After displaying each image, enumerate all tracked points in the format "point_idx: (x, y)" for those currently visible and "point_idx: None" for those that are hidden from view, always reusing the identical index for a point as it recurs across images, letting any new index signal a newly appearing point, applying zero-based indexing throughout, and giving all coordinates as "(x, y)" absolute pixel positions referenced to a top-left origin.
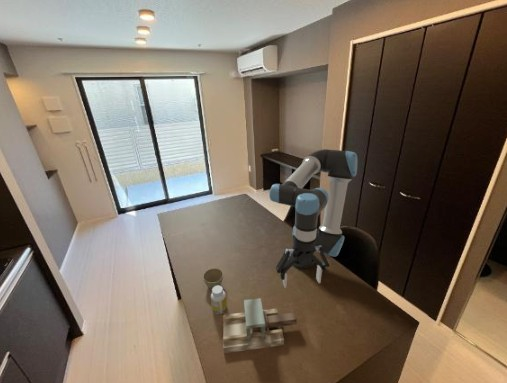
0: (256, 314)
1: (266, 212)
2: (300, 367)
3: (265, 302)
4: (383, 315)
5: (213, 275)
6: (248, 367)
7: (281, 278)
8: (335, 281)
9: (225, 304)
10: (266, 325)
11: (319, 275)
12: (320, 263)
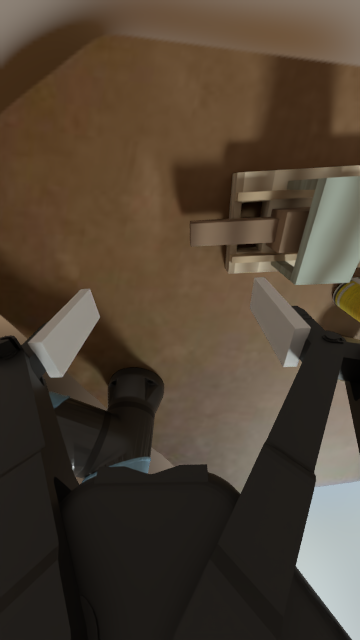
0: (338, 222)
1: None
2: (206, 90)
3: (241, 297)
4: None
5: None
6: (350, 108)
7: (305, 311)
8: None
9: (350, 293)
10: (284, 210)
11: (66, 314)
12: (1, 392)
